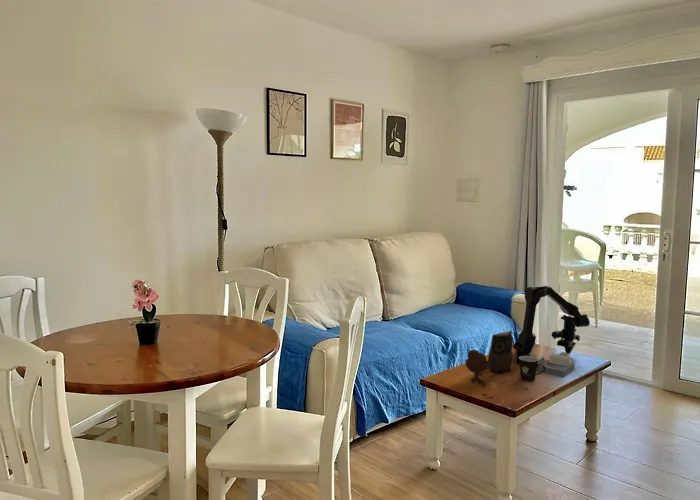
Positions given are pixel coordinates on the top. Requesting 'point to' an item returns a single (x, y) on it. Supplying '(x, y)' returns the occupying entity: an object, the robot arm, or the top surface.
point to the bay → (554, 370)
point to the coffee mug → (528, 367)
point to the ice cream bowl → (476, 364)
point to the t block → (560, 359)
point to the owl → (501, 353)
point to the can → (532, 348)
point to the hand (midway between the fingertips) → (567, 355)
